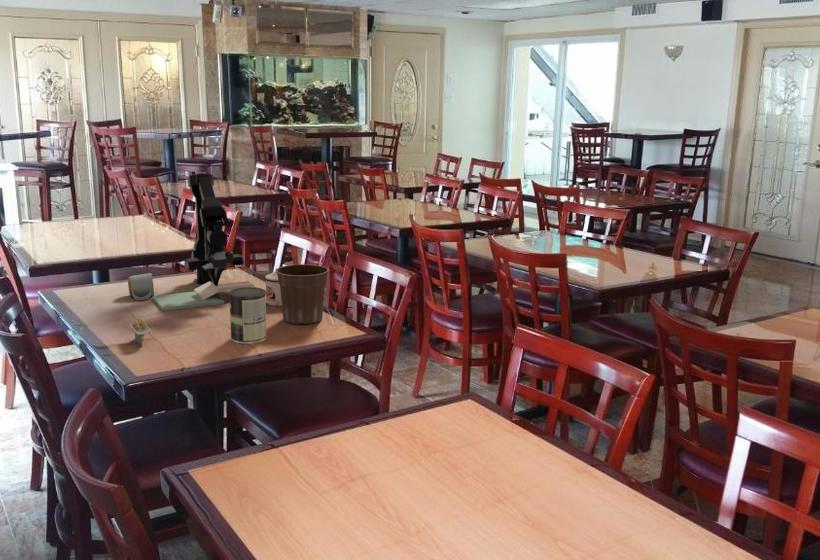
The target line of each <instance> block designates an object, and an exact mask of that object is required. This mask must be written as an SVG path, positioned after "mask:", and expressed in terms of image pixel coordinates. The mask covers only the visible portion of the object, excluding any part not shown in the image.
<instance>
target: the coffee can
mask: <svg viewBox="0 0 820 560" xmlns="http://www.w3.org/2000/svg"><path fill="white" fill-rule="evenodd" d="M256 287H257V286H256ZM256 287H243V288H236V289H233V290H231V291H229V299H230V302H229V318H230V320H229V321H230V341H231V342H232V343H235V344H238V343H240V345H255V344H259V343H263V342H264V341H266V340H267V338H268V337H267V313H266V312H267V309H266V306H267V305H266V304H267V303H266V289H264V288H261V287H257V288H256ZM262 341H263V342H262ZM253 343H254V344H253Z"/></svg>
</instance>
